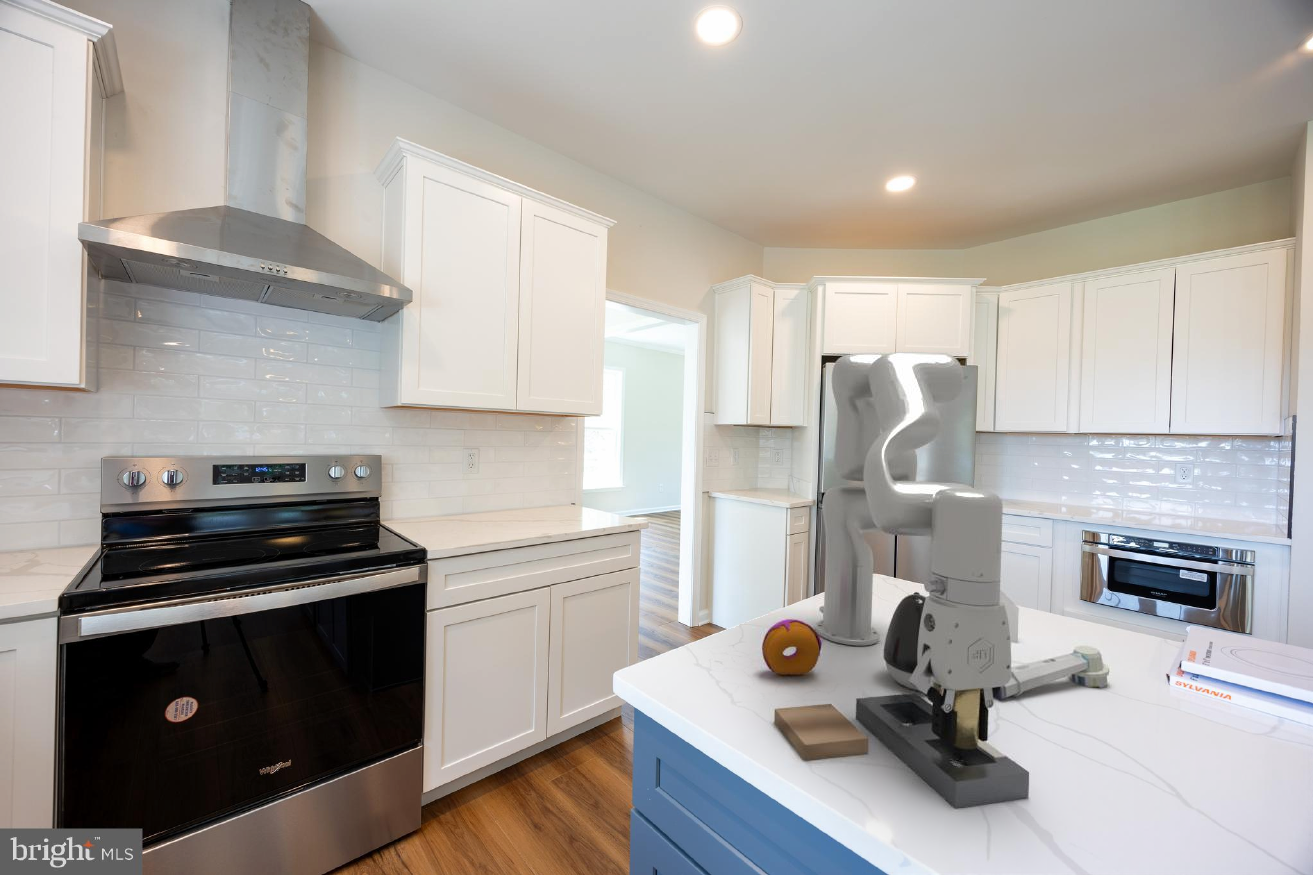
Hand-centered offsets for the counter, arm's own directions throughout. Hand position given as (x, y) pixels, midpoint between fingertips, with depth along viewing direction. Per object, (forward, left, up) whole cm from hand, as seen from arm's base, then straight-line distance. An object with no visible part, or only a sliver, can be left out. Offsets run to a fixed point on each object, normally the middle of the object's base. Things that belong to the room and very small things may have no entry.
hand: (959, 735), depth 65 cm
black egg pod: (-22, +12, -5) cm, 26 cm away
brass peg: (0, 0, 0) cm, 0 cm away
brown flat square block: (-10, -13, -5) cm, 17 cm away
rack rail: (-4, 0, -5) cm, 7 cm away
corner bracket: (-42, +44, -5) cm, 61 cm away
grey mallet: (-17, +34, -5) cm, 38 cm away
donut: (-28, -8, -5) cm, 30 cm away
